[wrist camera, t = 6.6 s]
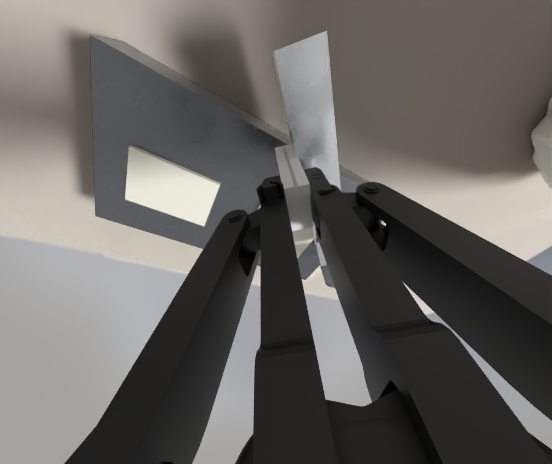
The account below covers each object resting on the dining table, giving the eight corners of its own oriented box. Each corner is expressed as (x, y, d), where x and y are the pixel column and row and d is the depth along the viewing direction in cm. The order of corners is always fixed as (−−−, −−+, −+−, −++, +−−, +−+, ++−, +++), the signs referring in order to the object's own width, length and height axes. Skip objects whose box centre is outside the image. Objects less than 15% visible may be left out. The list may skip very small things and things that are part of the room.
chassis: (116, 197, 22) (89, 220, 18) (122, 41, 14) (80, 32, 11) (301, 260, 30) (306, 284, 26) (369, 182, 22) (388, 202, 19)
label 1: (127, 197, 18) (124, 199, 18) (131, 145, 15) (128, 146, 15) (205, 224, 20) (204, 226, 20) (220, 183, 18) (219, 185, 17)
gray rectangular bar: (340, 260, 23) (350, 284, 20) (319, 265, 23) (326, 289, 21) (314, 38, 11) (329, 28, 9) (271, 54, 11) (273, 50, 9)
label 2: (242, 236, 22) (241, 239, 21) (261, 200, 19) (261, 202, 19) (296, 255, 24) (297, 258, 24) (321, 226, 21) (322, 228, 21)
